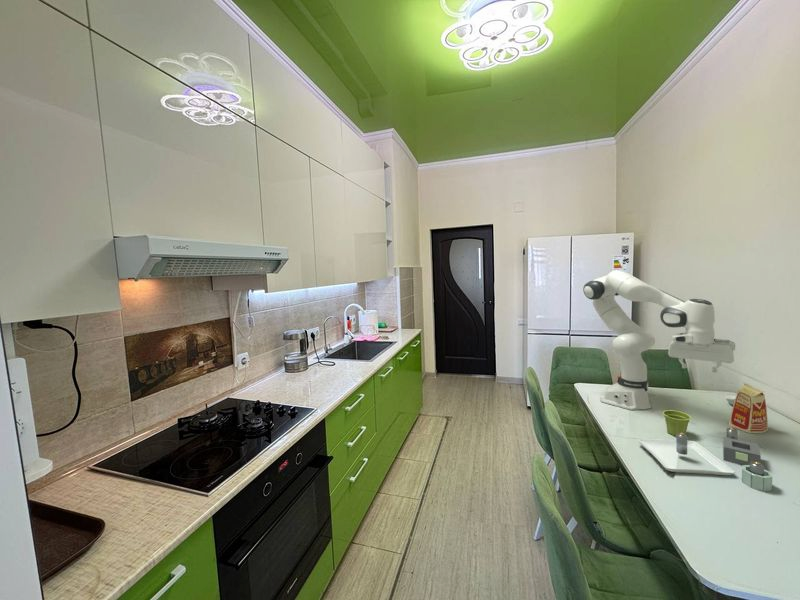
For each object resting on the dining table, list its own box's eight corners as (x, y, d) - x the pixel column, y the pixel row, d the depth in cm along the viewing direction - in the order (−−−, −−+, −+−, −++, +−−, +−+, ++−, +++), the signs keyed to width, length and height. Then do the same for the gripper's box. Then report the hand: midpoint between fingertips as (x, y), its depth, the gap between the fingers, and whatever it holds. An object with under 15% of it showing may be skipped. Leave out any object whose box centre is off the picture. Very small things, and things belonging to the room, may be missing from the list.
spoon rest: (724, 400, 170) (724, 387, 170) (756, 405, 163) (757, 391, 162) (729, 417, 153) (729, 403, 152) (766, 424, 145) (767, 408, 144)
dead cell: (749, 484, 107) (750, 463, 106) (748, 479, 109) (749, 458, 109) (764, 488, 105) (764, 466, 104) (763, 483, 107) (763, 462, 106)
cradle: (723, 462, 120) (723, 447, 120) (723, 451, 127) (723, 436, 127) (760, 472, 114) (760, 456, 113) (757, 459, 121) (758, 444, 120)
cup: (742, 487, 107) (742, 472, 107) (741, 477, 112) (741, 462, 111) (772, 496, 102) (773, 480, 102) (770, 485, 107) (770, 470, 107)
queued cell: (726, 446, 130) (726, 428, 129) (726, 443, 132) (726, 425, 131) (737, 449, 128) (738, 431, 127) (737, 446, 130) (737, 428, 129)
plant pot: (686, 430, 144) (686, 411, 143) (694, 440, 135) (694, 421, 135) (659, 427, 148) (659, 409, 147) (666, 437, 139) (666, 418, 139)
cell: (676, 449, 126) (676, 430, 125) (687, 451, 123) (687, 432, 123) (675, 452, 123) (675, 433, 123) (687, 455, 121) (687, 436, 121)
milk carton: (728, 424, 146) (729, 381, 144) (747, 422, 147) (748, 379, 145) (752, 434, 137) (753, 389, 135) (771, 432, 138) (773, 387, 136)
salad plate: (694, 447, 131) (694, 439, 131) (737, 481, 111) (737, 472, 110) (636, 445, 136) (636, 437, 136) (666, 477, 115) (666, 468, 115)
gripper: (735, 338, 130) (734, 372, 131) (669, 334, 144) (669, 364, 146) (735, 341, 126) (735, 376, 127) (667, 337, 140) (667, 368, 141)
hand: (699, 370), depth 136 cm, fingers open, 8 cm apart
